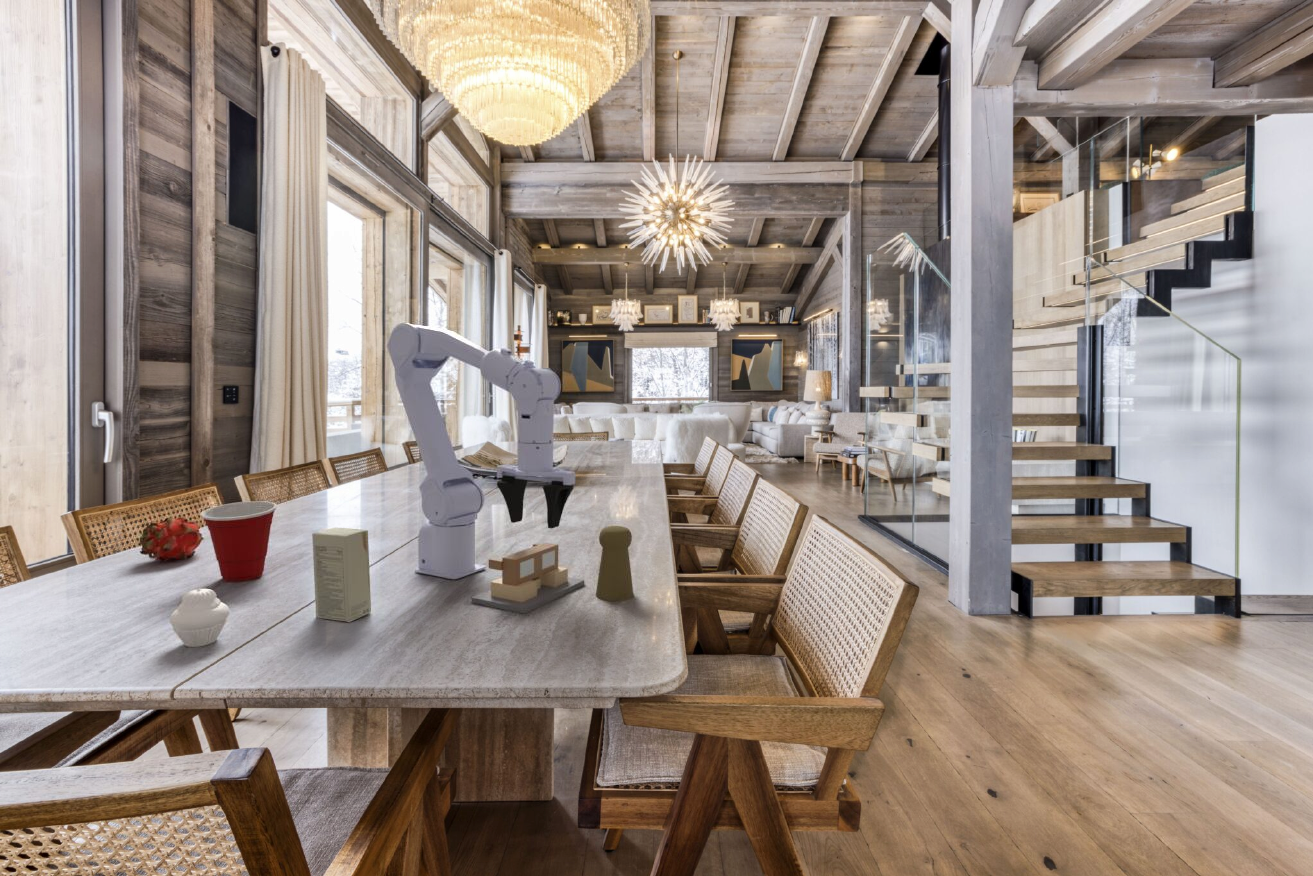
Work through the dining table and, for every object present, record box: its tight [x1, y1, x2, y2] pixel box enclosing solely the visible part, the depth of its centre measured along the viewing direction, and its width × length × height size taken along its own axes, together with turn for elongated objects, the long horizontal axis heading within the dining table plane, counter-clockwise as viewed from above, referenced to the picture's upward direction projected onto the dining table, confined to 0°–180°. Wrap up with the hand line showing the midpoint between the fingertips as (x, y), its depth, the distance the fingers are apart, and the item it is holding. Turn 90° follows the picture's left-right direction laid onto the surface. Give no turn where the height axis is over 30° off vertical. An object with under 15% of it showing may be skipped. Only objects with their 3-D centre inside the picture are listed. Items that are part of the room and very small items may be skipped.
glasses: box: [488, 542, 559, 586], centre depth 103 cm, size 5×12×4 cm, turn 154°
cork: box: [595, 525, 634, 602], centre depth 103 cm, size 6×6×11 cm
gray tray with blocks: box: [471, 566, 585, 615], centre depth 103 cm, size 10×16×3 cm, turn 154°
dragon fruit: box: [139, 516, 205, 563], centre depth 119 cm, size 8×8×12 cm
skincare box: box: [311, 527, 372, 623], centre depth 92 cm, size 6×4×12 cm
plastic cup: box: [199, 500, 278, 583], centre depth 108 cm, size 11×11×12 cm
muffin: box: [169, 587, 230, 648], centre depth 81 cm, size 6×6×7 cm
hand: (534, 524), depth 107 cm, fingers open, 7 cm apart
